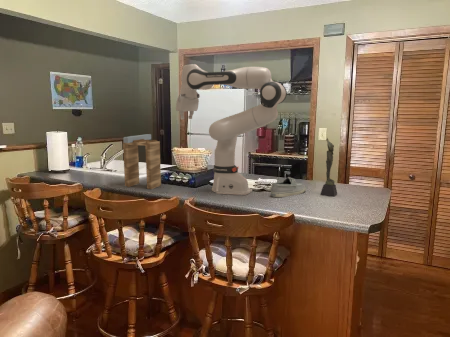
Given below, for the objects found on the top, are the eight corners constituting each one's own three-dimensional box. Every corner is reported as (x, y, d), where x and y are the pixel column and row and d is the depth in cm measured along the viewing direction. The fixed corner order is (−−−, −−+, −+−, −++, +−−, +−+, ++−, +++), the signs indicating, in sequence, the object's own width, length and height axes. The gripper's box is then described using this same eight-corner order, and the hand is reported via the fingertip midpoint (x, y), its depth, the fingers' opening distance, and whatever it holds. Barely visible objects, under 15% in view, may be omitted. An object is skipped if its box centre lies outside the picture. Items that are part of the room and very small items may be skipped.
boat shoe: (309, 191, 199) (310, 175, 197) (282, 199, 181) (283, 182, 180) (295, 188, 205) (295, 173, 204) (267, 196, 188) (268, 179, 186)
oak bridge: (160, 185, 212) (159, 139, 207) (151, 189, 203) (149, 141, 198) (135, 183, 218) (133, 138, 213) (125, 186, 209) (122, 140, 204)
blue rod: (151, 139, 220) (151, 134, 219) (128, 142, 198) (127, 137, 198) (147, 139, 221) (146, 134, 220) (123, 142, 200) (123, 137, 199)
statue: (334, 196, 187) (337, 139, 181) (320, 195, 190) (322, 138, 185) (337, 193, 193) (340, 138, 188) (323, 192, 196) (326, 137, 191)
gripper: (184, 94, 188) (182, 120, 191) (201, 95, 207) (199, 119, 210) (173, 93, 191) (172, 119, 193) (191, 94, 209) (189, 117, 212)
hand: (186, 119), depth 202 cm, fingers open, 8 cm apart
